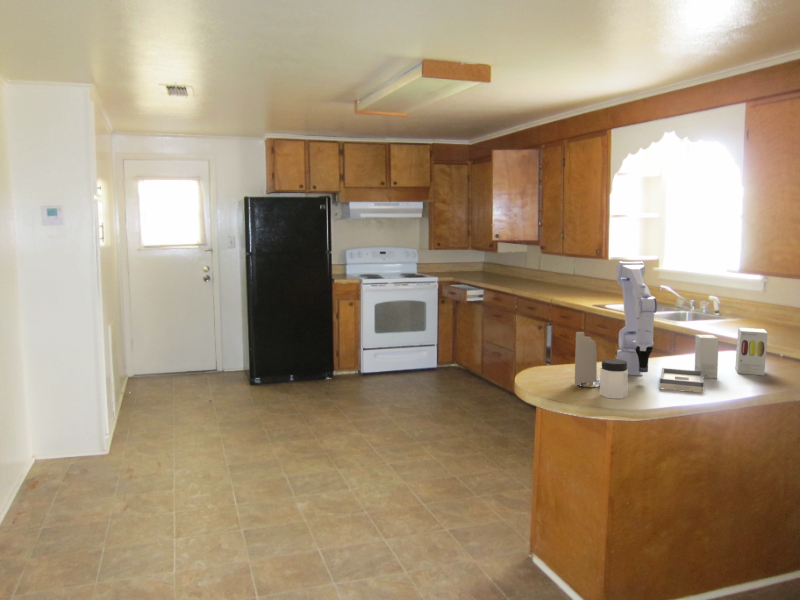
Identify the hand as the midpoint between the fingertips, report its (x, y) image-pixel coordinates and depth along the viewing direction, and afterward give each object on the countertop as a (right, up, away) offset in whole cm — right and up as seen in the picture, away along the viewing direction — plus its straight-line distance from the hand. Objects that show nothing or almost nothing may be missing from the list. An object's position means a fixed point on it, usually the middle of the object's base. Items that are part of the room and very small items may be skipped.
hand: (643, 366), depth 232 cm
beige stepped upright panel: (-19, -7, -2) cm, 20 cm away
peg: (0, -2, 0) cm, 2 cm away
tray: (+13, -6, -2) cm, 15 cm away
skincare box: (+27, -5, +10) cm, 30 cm away
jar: (-16, -8, -16) cm, 24 cm away
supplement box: (+48, -4, +16) cm, 51 cm away
